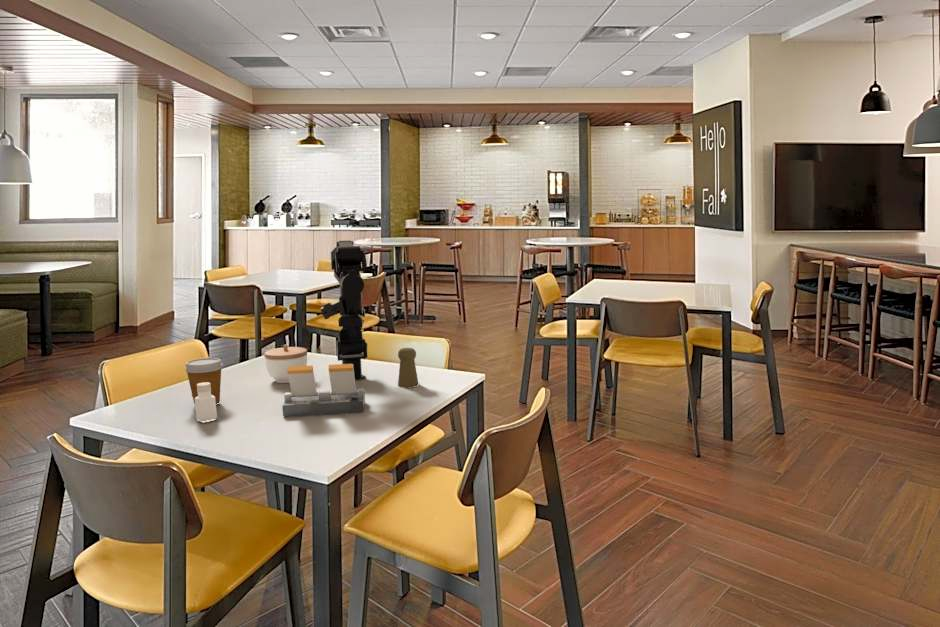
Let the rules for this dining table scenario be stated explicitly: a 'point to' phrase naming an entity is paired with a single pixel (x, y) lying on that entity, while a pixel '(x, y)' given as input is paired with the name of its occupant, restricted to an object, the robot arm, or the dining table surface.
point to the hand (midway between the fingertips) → (353, 346)
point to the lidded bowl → (284, 361)
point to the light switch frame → (324, 404)
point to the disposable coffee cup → (205, 375)
